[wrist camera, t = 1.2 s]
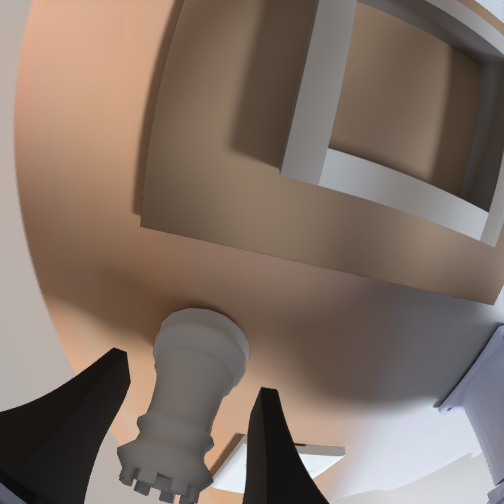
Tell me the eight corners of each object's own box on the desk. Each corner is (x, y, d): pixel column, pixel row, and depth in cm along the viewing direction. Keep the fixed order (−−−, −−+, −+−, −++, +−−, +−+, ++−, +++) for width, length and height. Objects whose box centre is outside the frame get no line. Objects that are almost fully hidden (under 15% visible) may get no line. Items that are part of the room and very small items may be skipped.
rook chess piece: (144, 323, 13) (68, 455, 5) (213, 285, 12) (146, 462, 4) (199, 379, 14) (162, 508, 7) (269, 354, 13) (258, 512, 6)
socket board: (533, 65, 5) (567, 63, 3) (484, 295, 11) (513, 326, 8) (223, -67, 5) (211, -104, 2) (150, 219, 11) (113, 246, 8)
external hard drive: (211, 474, 22) (245, 427, 17) (284, 486, 22) (344, 441, 17) (208, 486, 20) (242, 446, 15) (283, 498, 20) (346, 458, 16)
